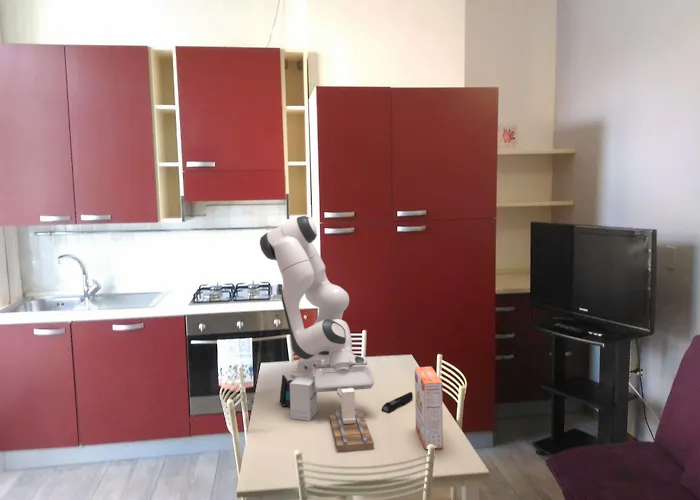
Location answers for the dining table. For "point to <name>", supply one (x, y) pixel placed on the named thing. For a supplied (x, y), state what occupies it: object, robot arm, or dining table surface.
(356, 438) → the switch track
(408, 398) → the electric trimmer
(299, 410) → the supplement box
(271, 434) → the dining table surface
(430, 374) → the cracker box
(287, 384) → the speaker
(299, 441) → the dining table surface
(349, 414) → the switch tab
